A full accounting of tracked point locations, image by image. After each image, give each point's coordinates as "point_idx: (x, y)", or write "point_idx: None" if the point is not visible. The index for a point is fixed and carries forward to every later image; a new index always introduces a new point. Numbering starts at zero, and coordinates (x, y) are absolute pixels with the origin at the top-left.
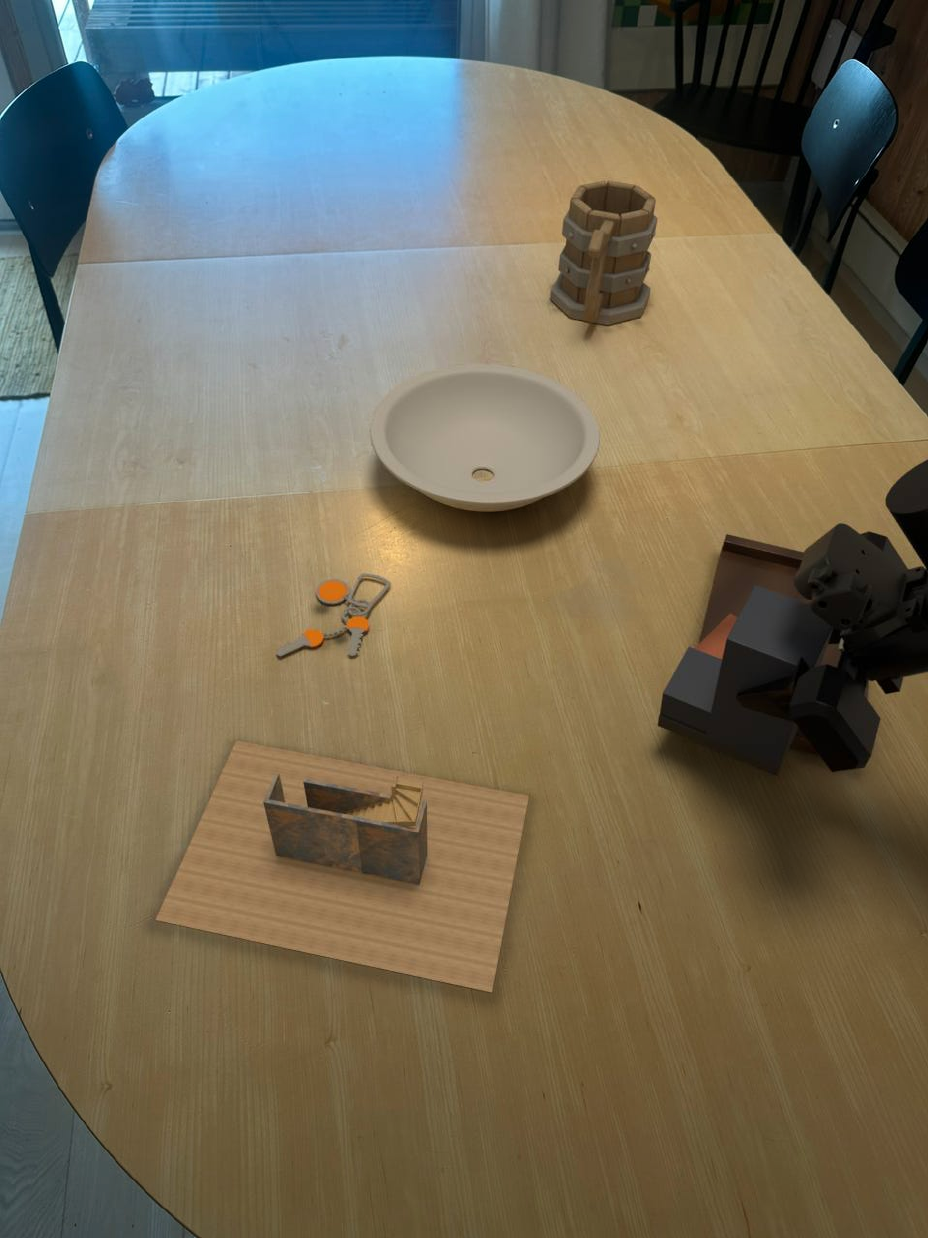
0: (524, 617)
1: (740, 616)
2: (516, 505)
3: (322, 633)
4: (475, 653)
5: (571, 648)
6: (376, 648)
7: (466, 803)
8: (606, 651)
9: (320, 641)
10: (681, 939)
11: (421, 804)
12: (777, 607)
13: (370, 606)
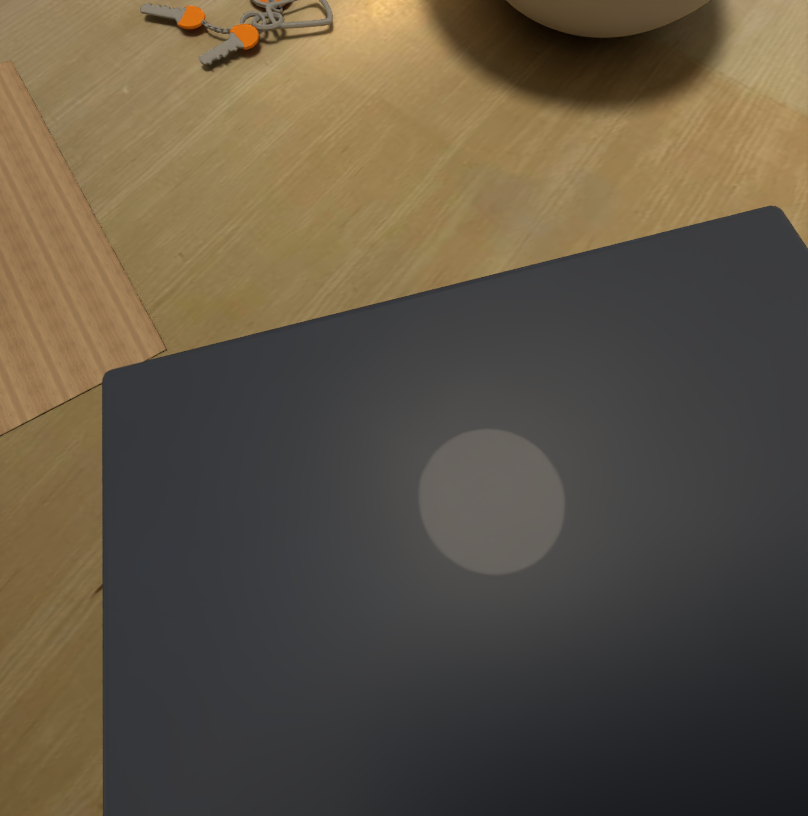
0: (421, 164)
1: (381, 313)
2: (548, 3)
3: (203, 19)
4: (321, 158)
5: (426, 236)
6: (238, 77)
7: (100, 298)
8: (460, 272)
9: (191, 25)
10: (87, 678)
11: (61, 259)
12: (749, 504)
13: (276, 25)
